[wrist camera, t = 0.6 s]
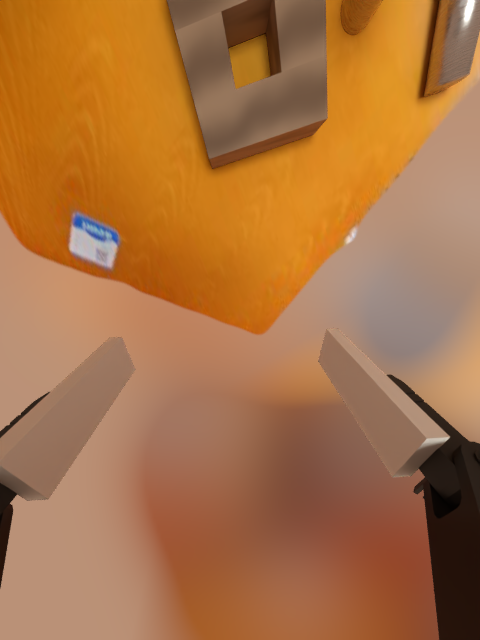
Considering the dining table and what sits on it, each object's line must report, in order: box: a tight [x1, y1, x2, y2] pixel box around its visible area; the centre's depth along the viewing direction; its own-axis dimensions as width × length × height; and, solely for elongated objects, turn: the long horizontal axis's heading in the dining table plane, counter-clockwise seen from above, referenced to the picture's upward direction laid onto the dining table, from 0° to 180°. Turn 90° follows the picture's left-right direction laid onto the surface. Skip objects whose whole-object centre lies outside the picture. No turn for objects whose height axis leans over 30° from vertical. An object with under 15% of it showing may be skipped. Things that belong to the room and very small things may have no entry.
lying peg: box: [424, 0, 480, 97], centre depth 20 cm, size 12×4×4 cm, turn 15°
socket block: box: [167, 0, 327, 169], centre depth 21 cm, size 16×16×4 cm
